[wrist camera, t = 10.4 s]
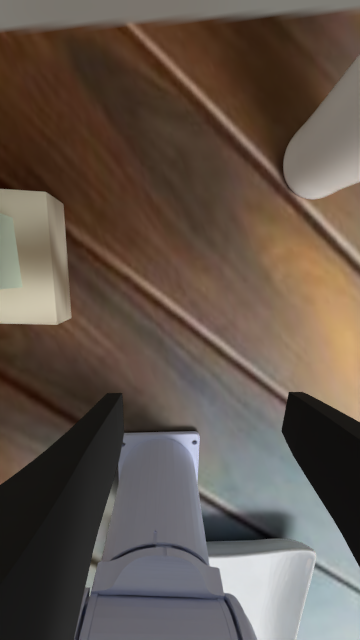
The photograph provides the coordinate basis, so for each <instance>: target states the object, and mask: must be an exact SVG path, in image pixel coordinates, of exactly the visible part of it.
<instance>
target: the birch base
mask: <svg viewBox="0 0 360 640" xmlns="http://www.w3.org/2000/svg"><path fill="white" fill-rule="evenodd" d="M0 213H1V214H4V215H7V216H9V217H12V218H13V224H14V231H15V238H16V245H17V252H18V259H19V266H20V273H21V280H22V286H23V287H20V288H9V289H0V324H49V325H58V324H60V323H62V322H64V321H66V320H68V319H70V318H71V305H70V291H69V277H68V262H67V248H66V234H65V220H64V205H63V203H61V202H60V201H58V200H57V199H56V198H54V197H53V196H51V195H50V194H48V193H47V192H41V191H25V190H10V189H0Z"/></svg>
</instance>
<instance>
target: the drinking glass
mask: <svg viewBox="0 0 360 640" xmlns="http://www.w3.org/2000/svg"><path fill="white" fill-rule="evenodd" d="M283 172H284V177H285V180H286V182H287V184H288V186H289V188H290V189H291V190H292V191H293V192H294V193H295V194H296V195H298V196H300V197H302V198H305V199H320V198H323V197H326V196H328V195H331V194H333V193H335V192H337V191H339V190H341V189H343V188H346V187H348V186H351V185H354V184H356V183H359V182H360V54H359V55H358V56H357V58H356V59H355V60H354V62H353V63H352V64H351V65H350V67H349V68H348V69H347V71H346V72H345V73H344V74H343V76H342V77H341V78H340V80H339V81H338V82H337V83H336V85H335V86H334V87H333V89H332V90H331V91H330V92H329V94H328V95H327V96H326V98H325V99H324V100H323V101H322V103H321V104H320V105H319V106H318V108H317V109H316V110H315V111H314V113H313V114H312V115H311V117H310V118H309V119H308V120H307V121H306V122H305V123H304V124H303V125H302V127H301V128H300V129H299V130H298V131H297V132H296V133H295V135H294V136H293V137H292V139H291V140H290V142H289V144H288V146H287V149H286V152H285V155H284V160H283Z"/></svg>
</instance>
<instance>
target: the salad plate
mask: <svg viewBox="0 0 360 640" xmlns="http://www.w3.org/2000/svg"><path fill="white" fill-rule="evenodd" d="M206 545H207V551H208V558H209V564H210V566H211V567H217V568H219V569H220V575H221V580H222V586H223V591H224V593H230V594H232V595H234V596H235V597H236V598H237V600H238V601H239V603H240V604H241V606H242V608H243V610H244V612H245V614H246V616H247V617H248V619H249V621H250V623H251V625H252V627H253V630H254V632H255V635H256V637H257V640H296V638H297V634H298V629H299V625H300V620H301V616H302V612H303V608H304V604H305V600H306V596H307V593H308V589H309V586H310V582H311V578H312V574H313V570H314V565H315V560H316V552H315V551H314V550H313V549H312V548H310V547H309V546H307V545H305V544H303V543H301V542H298V541H295V540H290V539H262V540H243V541H210V542H206Z"/></svg>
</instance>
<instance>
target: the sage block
mask: <svg viewBox="0 0 360 640" xmlns="http://www.w3.org/2000/svg"><path fill="white" fill-rule="evenodd" d="M20 287H23V286H22V280H21V273H20V266H19V259H18V252H17V245H16V238H15V231H14V224H13V218H12V217H9V216H7V215H4V214H1V213H0V289H9V288H20Z"/></svg>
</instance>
